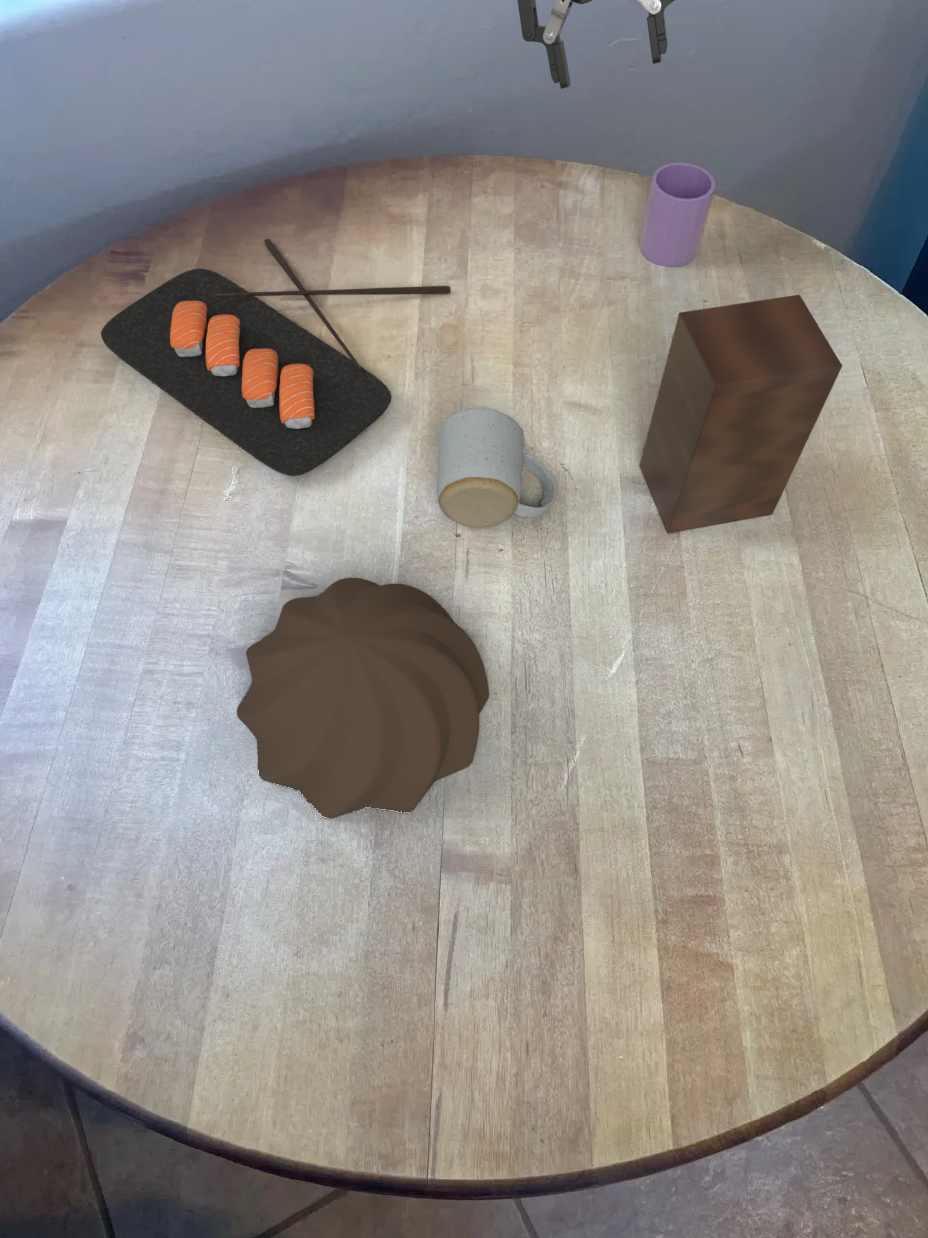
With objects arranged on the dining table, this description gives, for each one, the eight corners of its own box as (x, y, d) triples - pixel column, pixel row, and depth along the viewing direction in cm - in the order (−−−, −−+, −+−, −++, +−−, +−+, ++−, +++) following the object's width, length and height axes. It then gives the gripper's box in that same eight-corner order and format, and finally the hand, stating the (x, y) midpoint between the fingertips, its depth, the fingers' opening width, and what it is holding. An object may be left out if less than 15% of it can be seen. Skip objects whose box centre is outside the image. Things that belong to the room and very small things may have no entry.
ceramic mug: (435, 532, 85) (436, 476, 78) (438, 461, 89) (439, 402, 82) (555, 536, 85) (566, 480, 78) (552, 465, 89) (562, 406, 83)
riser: (740, 448, 90) (799, 293, 75) (772, 515, 86) (843, 365, 71) (638, 465, 89) (678, 311, 74) (667, 534, 85) (715, 386, 70)
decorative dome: (199, 783, 72) (166, 727, 64) (293, 573, 82) (275, 500, 74) (446, 852, 70) (447, 803, 61) (512, 627, 80) (520, 557, 71)
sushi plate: (93, 347, 96) (80, 316, 93) (308, 205, 108) (303, 174, 105) (296, 498, 87) (290, 470, 83) (507, 324, 99) (509, 294, 95)
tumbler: (686, 225, 107) (702, 158, 101) (706, 262, 104) (724, 196, 97) (631, 232, 107) (644, 166, 100) (650, 270, 103) (664, 204, 97)
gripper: (666, -167, 81) (690, 49, 90) (504, -112, 86) (542, 89, 94) (661, -174, 75) (687, 58, 84) (487, -115, 80) (529, 100, 88)
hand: (610, 74), depth 89 cm, fingers open, 8 cm apart
